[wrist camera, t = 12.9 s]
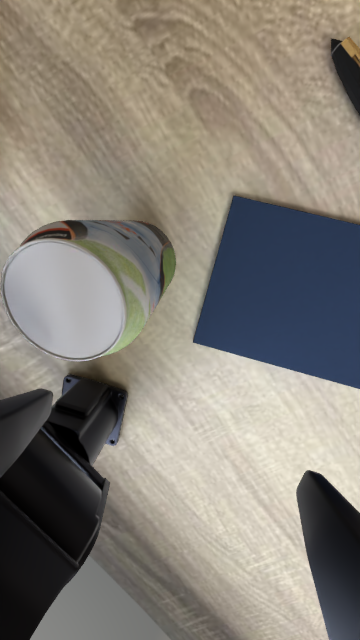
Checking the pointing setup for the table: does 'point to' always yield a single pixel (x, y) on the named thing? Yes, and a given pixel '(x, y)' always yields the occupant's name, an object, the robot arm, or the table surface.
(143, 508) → the table surface
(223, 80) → the table surface
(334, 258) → the blue hardcover notebook
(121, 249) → the beverage can
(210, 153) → the table surface
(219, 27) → the table surface
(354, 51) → the fountain pen
